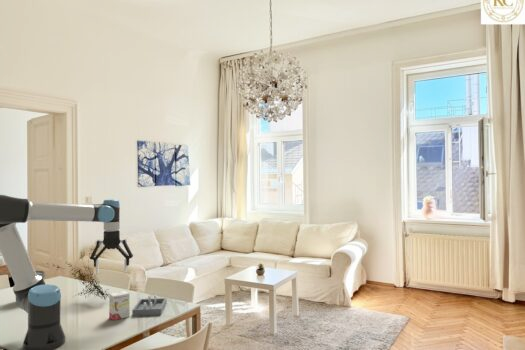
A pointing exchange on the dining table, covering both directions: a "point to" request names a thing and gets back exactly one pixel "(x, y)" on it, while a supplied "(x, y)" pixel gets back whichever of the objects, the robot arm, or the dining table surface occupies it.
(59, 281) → the dining table surface
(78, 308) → the dining table surface
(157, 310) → the pin tray
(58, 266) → the dried plant
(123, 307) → the ink box
